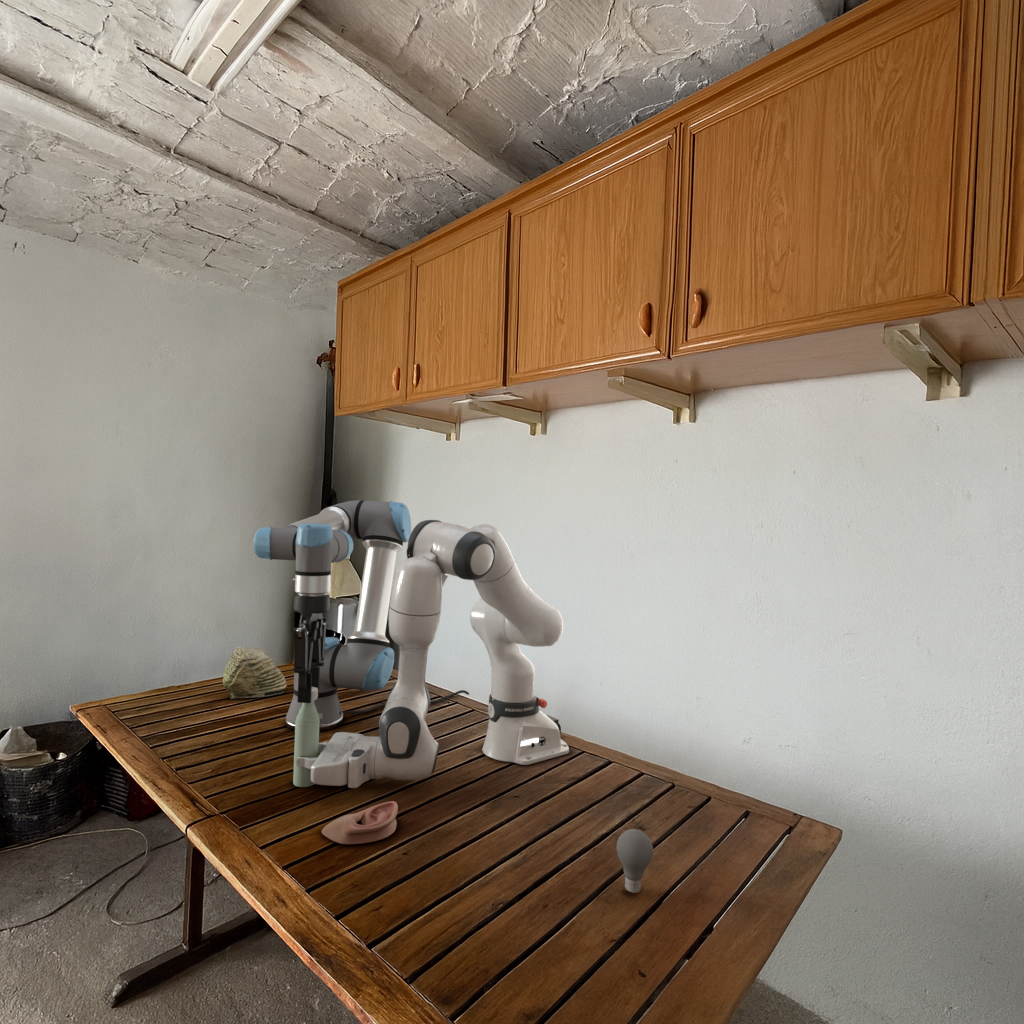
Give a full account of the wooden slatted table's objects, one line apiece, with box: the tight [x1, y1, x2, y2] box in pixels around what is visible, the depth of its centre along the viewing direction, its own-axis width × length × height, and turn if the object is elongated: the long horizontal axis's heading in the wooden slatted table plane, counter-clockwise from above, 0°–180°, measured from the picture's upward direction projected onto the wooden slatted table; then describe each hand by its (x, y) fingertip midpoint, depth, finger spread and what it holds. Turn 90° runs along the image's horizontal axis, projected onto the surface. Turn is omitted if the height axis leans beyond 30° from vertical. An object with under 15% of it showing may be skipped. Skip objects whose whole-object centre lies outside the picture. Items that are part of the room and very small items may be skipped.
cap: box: [311, 687, 318, 701], centre depth 140 cm, size 4×4×2 cm
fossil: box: [222, 646, 288, 699], centre depth 198 cm, size 9×18×15 cm, turn 132°
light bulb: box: [615, 828, 654, 894], centre depth 106 cm, size 6×6×10 cm
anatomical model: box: [321, 800, 399, 845], centre depth 121 cm, size 13×4×12 cm
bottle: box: [292, 700, 320, 788], centre depth 140 cm, size 5×5×20 cm
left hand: (308, 698), depth 140 cm, fingers closed on cap, 4 cm apart
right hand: (302, 754), depth 140 cm, fingers closed on bottle, 5 cm apart
